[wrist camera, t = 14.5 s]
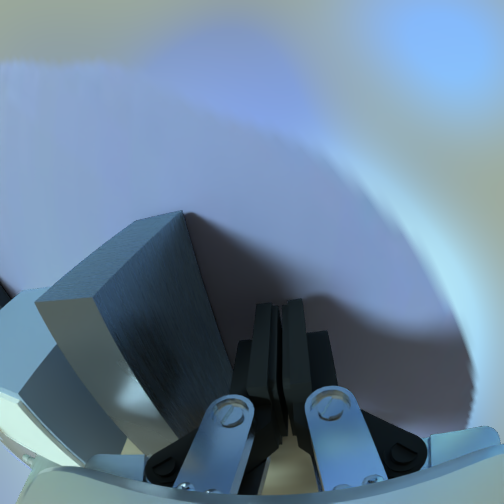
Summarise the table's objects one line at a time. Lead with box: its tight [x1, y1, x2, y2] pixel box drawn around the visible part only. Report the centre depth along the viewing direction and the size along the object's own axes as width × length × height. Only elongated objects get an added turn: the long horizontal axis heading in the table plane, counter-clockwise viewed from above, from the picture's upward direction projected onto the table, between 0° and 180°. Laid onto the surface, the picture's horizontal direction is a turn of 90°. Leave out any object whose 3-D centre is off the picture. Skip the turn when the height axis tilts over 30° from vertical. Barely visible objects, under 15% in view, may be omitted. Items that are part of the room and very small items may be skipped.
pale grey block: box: [0, 287, 128, 468], centre depth 10 cm, size 8×6×8 cm
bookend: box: [34, 210, 233, 457], centre depth 9 cm, size 2×10×6 cm, turn 11°
